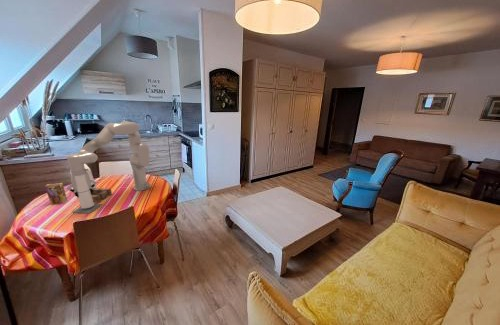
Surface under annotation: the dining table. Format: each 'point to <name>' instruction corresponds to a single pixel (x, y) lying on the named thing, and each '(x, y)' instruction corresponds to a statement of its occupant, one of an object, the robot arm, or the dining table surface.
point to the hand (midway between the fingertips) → (84, 195)
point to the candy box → (56, 193)
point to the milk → (88, 174)
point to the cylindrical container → (83, 192)
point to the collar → (100, 194)
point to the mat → (87, 209)
